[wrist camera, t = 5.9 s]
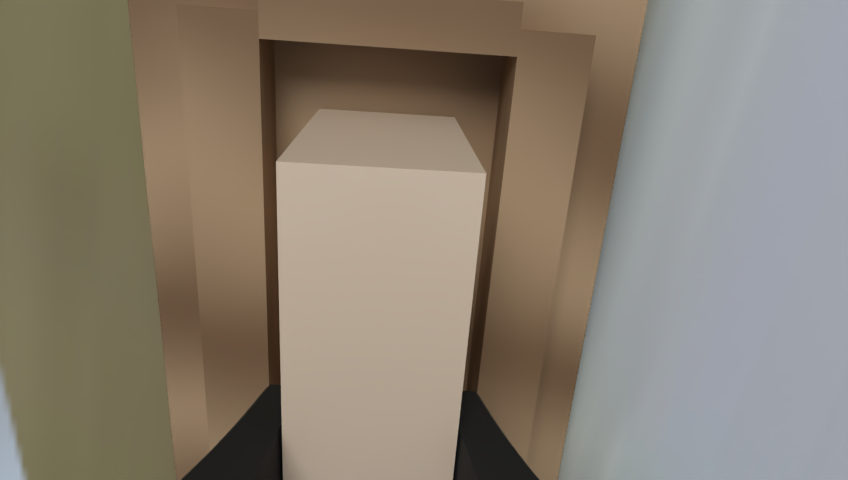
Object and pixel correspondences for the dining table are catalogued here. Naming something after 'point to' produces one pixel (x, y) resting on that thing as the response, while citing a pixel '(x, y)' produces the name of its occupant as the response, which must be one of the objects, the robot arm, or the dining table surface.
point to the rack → (388, 93)
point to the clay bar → (375, 293)
